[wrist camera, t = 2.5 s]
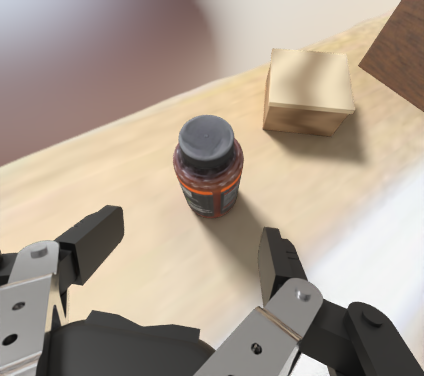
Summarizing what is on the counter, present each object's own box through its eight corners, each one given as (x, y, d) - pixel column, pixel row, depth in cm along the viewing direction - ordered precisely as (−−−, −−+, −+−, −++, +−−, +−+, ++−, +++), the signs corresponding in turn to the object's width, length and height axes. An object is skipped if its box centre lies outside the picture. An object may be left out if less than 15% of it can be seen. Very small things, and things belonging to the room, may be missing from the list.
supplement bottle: (240, 177, 26) (255, 109, 16) (231, 224, 24) (243, 181, 13) (192, 169, 27) (178, 98, 16) (180, 213, 24) (153, 164, 14)
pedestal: (328, 86, 32) (346, 53, 27) (332, 137, 28) (355, 110, 24) (264, 81, 33) (272, 48, 28) (261, 130, 29) (269, 101, 24)
